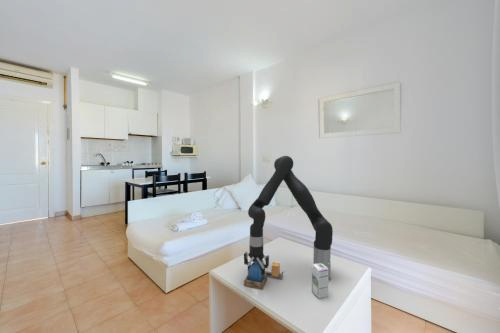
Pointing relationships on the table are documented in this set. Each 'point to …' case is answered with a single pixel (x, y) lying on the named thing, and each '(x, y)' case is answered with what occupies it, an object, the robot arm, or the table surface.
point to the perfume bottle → (255, 272)
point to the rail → (274, 276)
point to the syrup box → (320, 280)
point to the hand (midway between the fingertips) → (256, 273)
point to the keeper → (255, 283)
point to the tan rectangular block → (274, 269)
